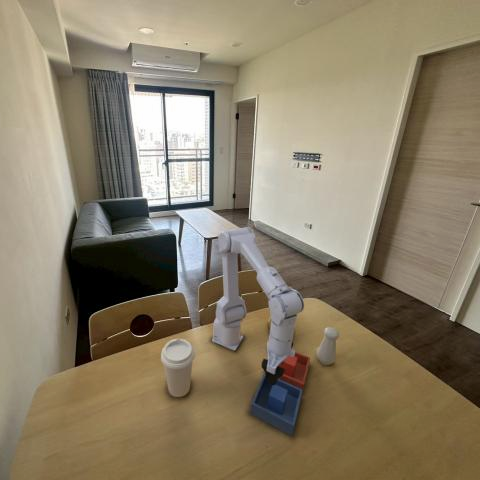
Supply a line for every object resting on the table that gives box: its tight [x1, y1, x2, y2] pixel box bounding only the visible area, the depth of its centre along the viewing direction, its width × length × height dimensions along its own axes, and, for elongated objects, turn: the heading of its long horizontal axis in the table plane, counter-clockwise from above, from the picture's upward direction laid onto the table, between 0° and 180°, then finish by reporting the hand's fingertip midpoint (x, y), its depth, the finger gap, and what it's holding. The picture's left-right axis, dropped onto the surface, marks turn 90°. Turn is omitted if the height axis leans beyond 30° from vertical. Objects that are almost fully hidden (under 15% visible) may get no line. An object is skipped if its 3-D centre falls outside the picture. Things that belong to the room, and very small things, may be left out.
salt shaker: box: [316, 326, 340, 367], centre depth 83 cm, size 6×6×13 cm
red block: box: [281, 356, 298, 378], centre depth 80 cm, size 4×4×5 cm
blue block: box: [268, 385, 288, 415], centre depth 69 cm, size 4×4×5 cm
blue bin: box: [249, 372, 304, 437], centre depth 70 cm, size 11×11×4 cm
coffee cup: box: [160, 338, 196, 398], centre depth 73 cm, size 10×10×15 cm
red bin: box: [278, 351, 311, 393], centre depth 80 cm, size 11×11×4 cm
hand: (275, 372), depth 69 cm, fingers open, 7 cm apart
